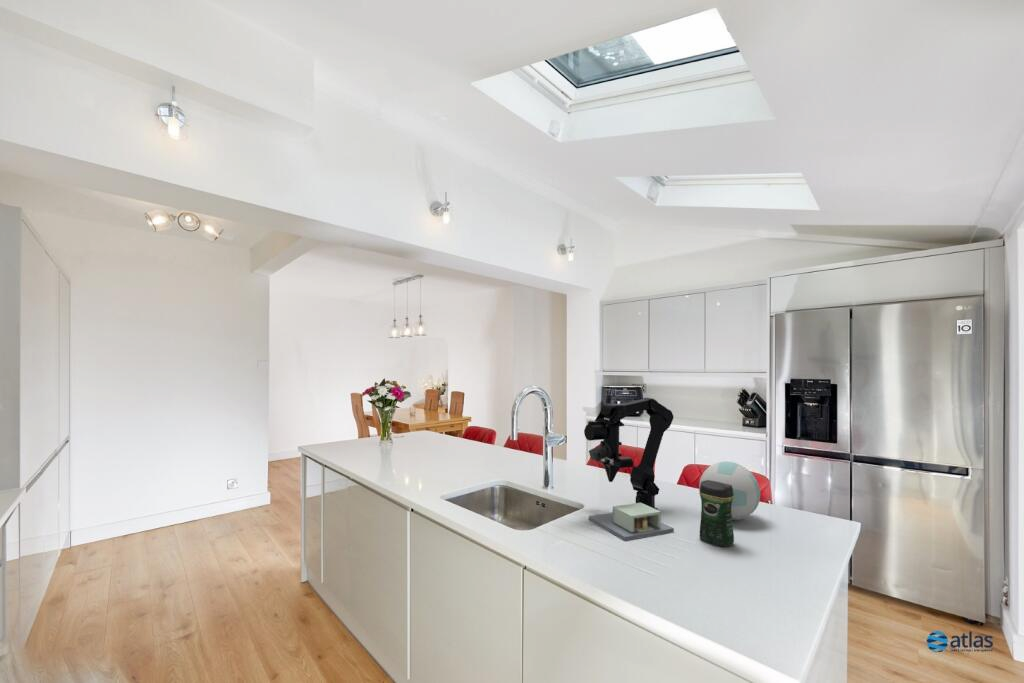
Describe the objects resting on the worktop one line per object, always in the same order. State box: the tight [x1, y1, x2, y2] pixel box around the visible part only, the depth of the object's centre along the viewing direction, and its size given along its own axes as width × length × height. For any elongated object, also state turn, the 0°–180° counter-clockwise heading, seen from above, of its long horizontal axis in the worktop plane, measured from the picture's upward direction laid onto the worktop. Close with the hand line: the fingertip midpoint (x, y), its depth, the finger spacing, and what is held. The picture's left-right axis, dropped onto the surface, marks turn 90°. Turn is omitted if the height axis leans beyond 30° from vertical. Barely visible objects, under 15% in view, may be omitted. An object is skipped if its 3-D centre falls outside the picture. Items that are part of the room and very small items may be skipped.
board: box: [588, 512, 675, 542], centre depth 155 cm, size 20×20×4 cm
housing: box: [612, 502, 662, 532], centre depth 154 cm, size 12×14×5 cm
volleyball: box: [698, 461, 761, 521], centre depth 165 cm, size 20×20×20 cm
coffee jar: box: [698, 480, 735, 547], centre depth 143 cm, size 10×8×19 cm
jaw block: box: [634, 516, 647, 528], centre depth 152 cm, size 4×4×4 cm
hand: (610, 481), depth 166 cm, fingers closed
